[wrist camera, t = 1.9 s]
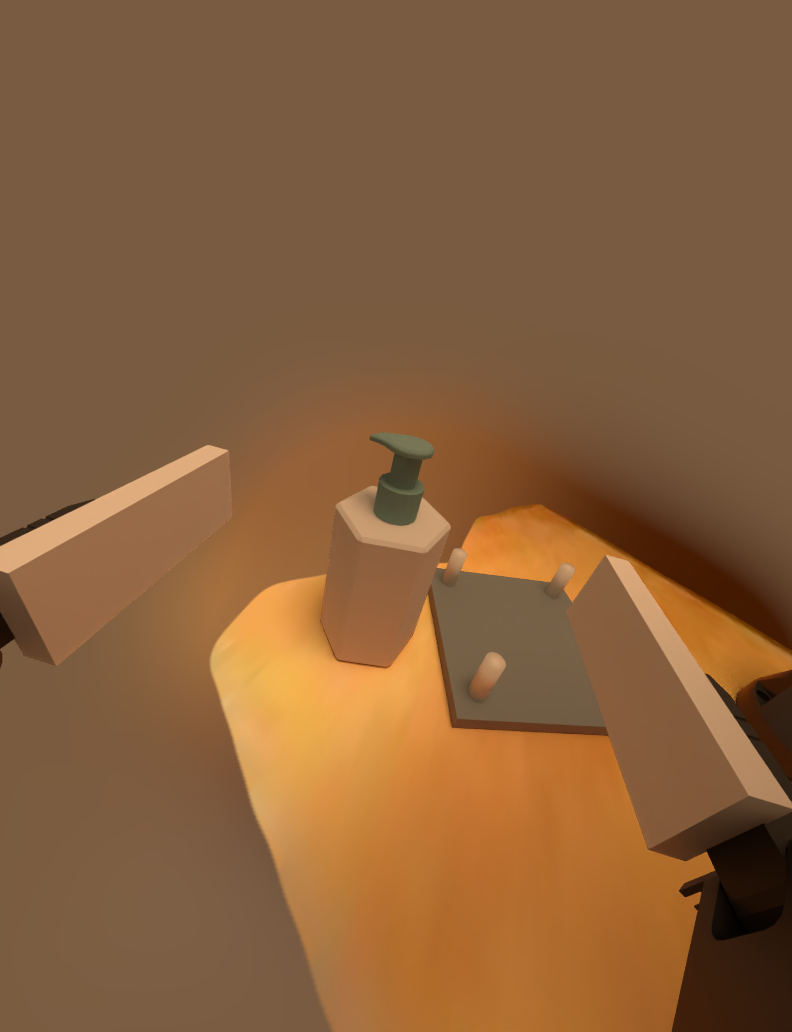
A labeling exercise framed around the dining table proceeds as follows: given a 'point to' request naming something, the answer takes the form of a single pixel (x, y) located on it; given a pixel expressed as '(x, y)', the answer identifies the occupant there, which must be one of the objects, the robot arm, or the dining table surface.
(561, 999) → the dining table surface
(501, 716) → the plate
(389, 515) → the soap bottle
